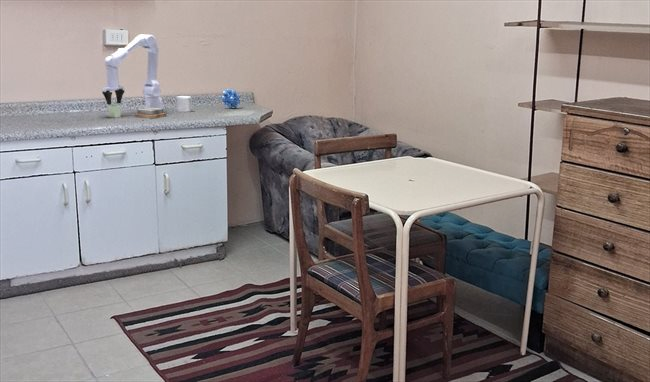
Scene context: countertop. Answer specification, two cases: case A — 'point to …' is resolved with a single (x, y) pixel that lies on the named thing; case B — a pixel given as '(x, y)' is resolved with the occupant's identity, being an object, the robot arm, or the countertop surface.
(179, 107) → the medicine box
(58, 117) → the countertop surface
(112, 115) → the green block
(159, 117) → the tower base
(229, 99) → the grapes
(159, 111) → the tower top
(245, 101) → the countertop surface
